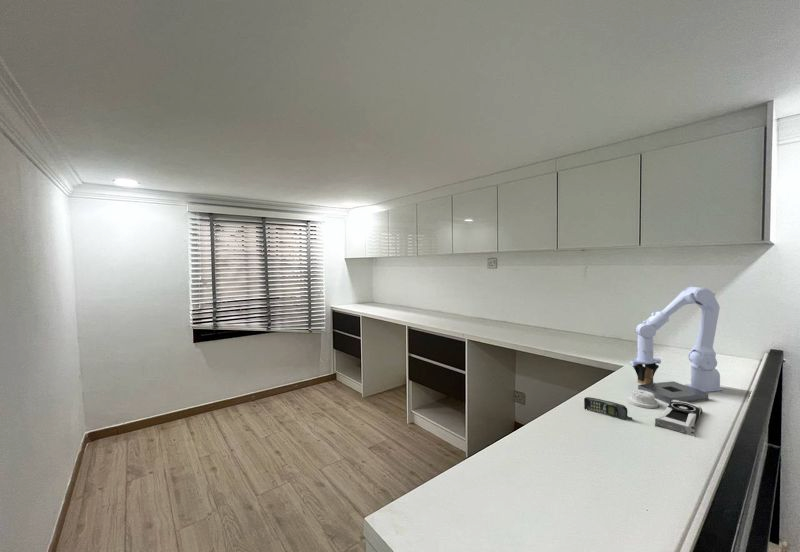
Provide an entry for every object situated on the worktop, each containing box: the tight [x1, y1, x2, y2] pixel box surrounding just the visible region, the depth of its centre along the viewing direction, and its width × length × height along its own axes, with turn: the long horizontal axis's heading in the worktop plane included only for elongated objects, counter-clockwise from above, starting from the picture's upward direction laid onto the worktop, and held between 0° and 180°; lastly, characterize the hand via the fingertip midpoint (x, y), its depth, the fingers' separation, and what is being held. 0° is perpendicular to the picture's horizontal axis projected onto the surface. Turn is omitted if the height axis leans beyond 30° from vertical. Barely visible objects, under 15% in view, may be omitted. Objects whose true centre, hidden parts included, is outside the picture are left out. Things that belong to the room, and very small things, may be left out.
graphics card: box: [654, 400, 703, 437], centre depth 114 cm, size 10×3×25 cm
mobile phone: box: [583, 396, 633, 420], centre depth 120 cm, size 5×3×15 cm
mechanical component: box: [626, 388, 659, 409], centre depth 128 cm, size 10×4×10 cm
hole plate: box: [637, 380, 709, 405], centre depth 134 cm, size 18×14×2 cm
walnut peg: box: [637, 367, 654, 385], centre depth 147 cm, size 4×4×7 cm
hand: (645, 379), depth 147 cm, fingers closed on walnut peg, 4 cm apart
